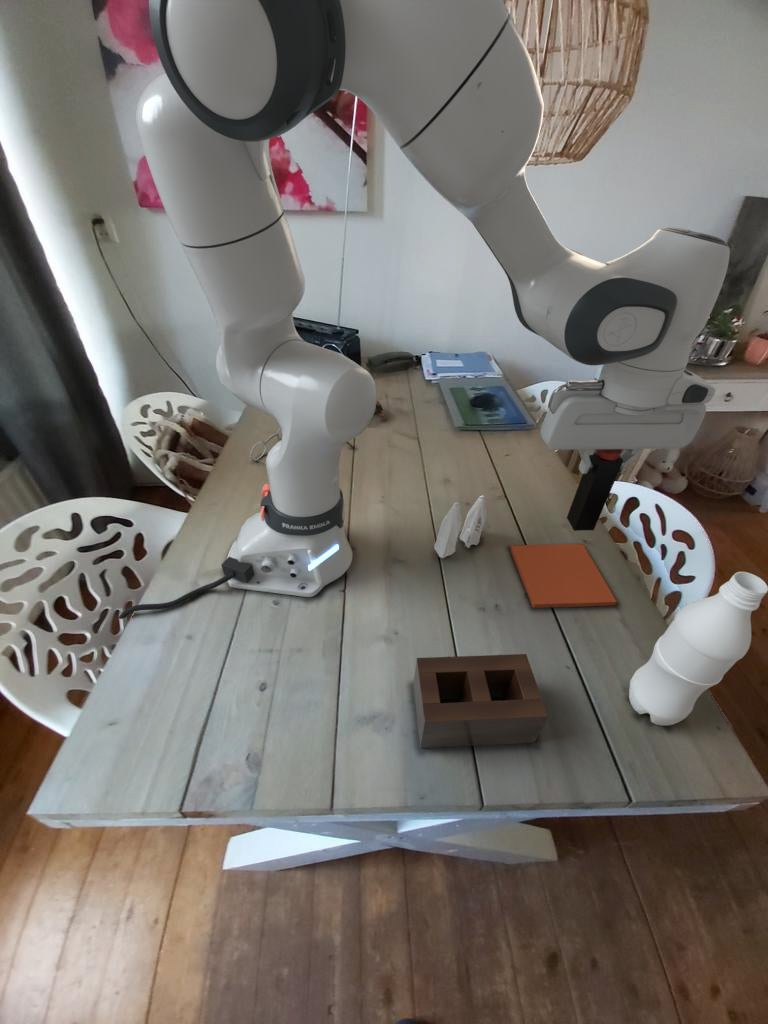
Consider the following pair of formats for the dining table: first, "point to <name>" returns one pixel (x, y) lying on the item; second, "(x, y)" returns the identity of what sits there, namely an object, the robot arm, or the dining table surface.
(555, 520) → the dining table surface
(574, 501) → the red-capped black post
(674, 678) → the water bottle
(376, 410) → the brown looped piece
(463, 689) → the holder
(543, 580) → the mat
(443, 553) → the shaker set
